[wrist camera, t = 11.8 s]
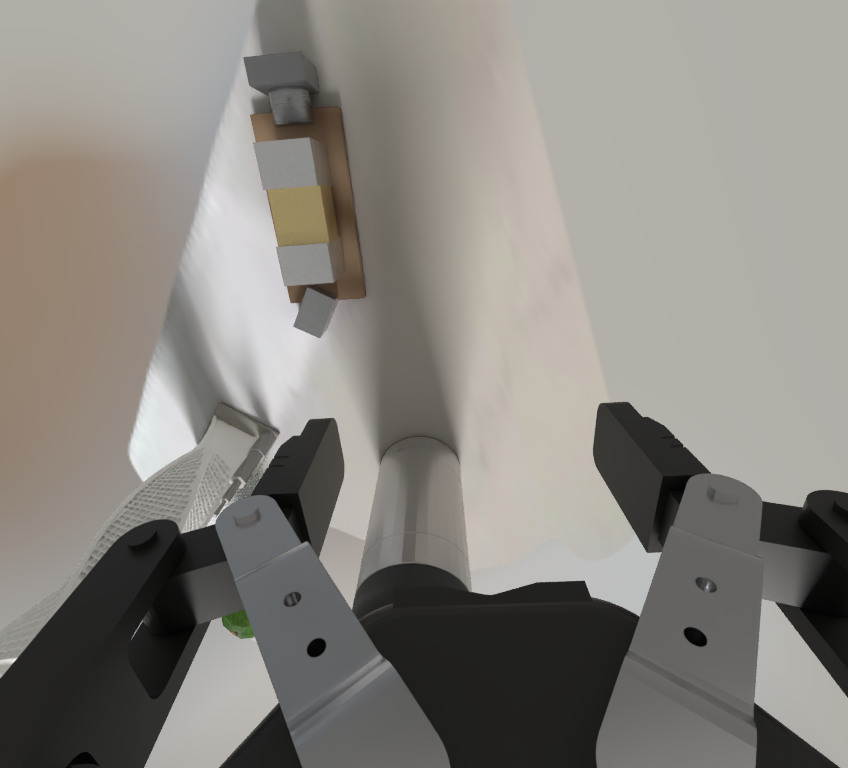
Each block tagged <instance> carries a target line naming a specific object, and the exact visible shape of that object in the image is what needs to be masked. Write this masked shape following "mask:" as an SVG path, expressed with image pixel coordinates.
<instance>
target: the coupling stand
mask: <svg viewBox="0 0 848 768" xmlns="http://www.w3.org/2000/svg"><path fill="white" fill-rule="evenodd" d="M243 58H244V62H245V67H246V72H247V77H248V81H249V86H251V87H253V88H255V89H256V90H258V91H260V92H261V93H263V94H265V95H267V96H268V97H269V99H270V105H271V110H272V113H263V114H253V115H250V117H251V121H252V126H253V130H254V135H255V140H256V142H265V141H276V140H287V139H298V138H308V137H310V138H312V139H314V140H316V141H319V142H321V143H323V144H326V146H327V152H328V159H329V165H330V172H331V178H332V185H333V186H331V190H332V197H333V203H334V210H335V216H336V223H337V229H338V235H339V237H341V243H342V250H343V256H344V263H345V269H346V272H345V273H344V274H343V275H342V276H340V277H339V278H338V279H337V280H336V281H335V282H334V283H321V284H308V285H294V286H287V288H288V293H289V298H290V302H291V303H300V302H302V304H301V307H300V309H299V312H298V315H297V318H296V321H295V323H294V326H293V327H296V328H298V329H300V330H302V331H305V332H307V333H309V334H311V335H314V336H316V337H318V338H321V336H322V335H323V334H324V333H325V331H326V330H327V328H328V325H329V322H330V320H331V317H332V315H333V312H334V310H335V307H336V305H337V302H338V300H341V299H355V298H365V296H366V291H365V284H364V276H363V269H362V262H361V254H360V247H359V240H358V233H357V225H356V218H355V211H354V203H353V196H352V189H351V181H350V174H349V167H348V159H347V152H346V145H345V137H344V130H343V123H342V115H341V109H340V108H339V107H338V106H336V107H325V108H315V109H312V108H311V101H310V95H309V93H319V87H318V80H317V74H316V67H315V66H314V65H313V64H312V63H311V62H310V61H309V60H308V59H307V58H306V57H305V56H304V55H303V54H302V53H301V52H291V53H281V54H271V55H262V56H252V57H243ZM266 191H267V190H266ZM267 195H268V192H267ZM268 200H269V197H268ZM269 205H270V201H269ZM270 209H271V206H270ZM271 214H272V211H271ZM272 219H273V215H272ZM273 223H274V220H273ZM274 228H275V225H274ZM275 233H276V229H275ZM276 237H277V234H276ZM277 242H278V239H277ZM278 246H279V243H278Z"/></svg>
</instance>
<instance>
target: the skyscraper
mask: <svg viewBox="0 0 848 768" xmlns="http://www.w3.org/2000/svg"><path fill="white" fill-rule="evenodd" d="M278 435H279V432H277V431H275V430H273V429H271V428H269V427H267V426H265V425H263V424H261V423H260V422H258V421H256V420H254V419H252V418H250V417H248V416H246V415H244V414H242V413H240V412H238V411H236V410H234V409H232V408H230V407H228V406H227V405H225V404H223V403H219V405H218V407H217V409H216V411H215V413H214V415H213V417H212V419H211V421H210V423H209V425H208V427H207V429H206V432H205V434H204V436H203V438H202V440H201V441H200V443H199V444H198V445H197V446H196V447H195V448H194V449H193V450H192V451H190V452H188V453H186V454H185V455H183V456H181V457H179V458H178V459H176V460H174V461H173V462H171V463H170V464H168V465H166V466H165V467H163V468H162V469H161V470H159V471H158V472H156V473H155V474H153V475H152V476H151V477H150V478H148V479H147V480H146V481H145V482H143V483H142V484H141V485H140V486H139V487H138V488H136V490H134V491H133V492H132V493H131V494H130V495H129V496H128V497H127V498H126V499H125V500H124V501H123V502H122V503H121V504H120V505H119V507H118V508H117V509H116V510H115V511H114V512H113V513H112V514H111V516H110V517H109V518H108V520H107V521H106V522H105V524H104V525H103V526H102V527H101V529H100V530H99V532H98V533H97V535H96V536H95V538H94V539H93V541H92V542H91V544H90V545H89V547H88V549H87V550H86V552H85V554H84V555H83V557H82V559H81V560H80V562H79V564H78V565H77V568H76V569H75V571H74V573H73V574H72V575H71V577H70V578H69V579H68V580H67V581H66V582H65V583H64V584H63V585H62V586H61V587H60V588H59V589H58V590H56V591H55V592H54V593H52V594H51V595H49V596H48V597H47V598H45V599H44V600H43V601H41V602H40V603H39V604H37V605H35V606H34V607H33V608H31V609H30V610H29V611H27V612H26V613H24V614H23V615H22V616H20V617H19V618H18V619H16V620H15V621H13V622H12V623H11V624H9V625H8V626H6V627H5V628H4V629H2V630H1V631H0V678H1V677H2V676H3V675H4V673H5V672H6V671H7V670H8V669H9V667H10V666H11V665H12V664H13V663H14V661H15V660H16V659H17V658H18V657H19V655H20V654H21V653H22V652H23V651H24V650H25V648H26V647H27V646H28V645H29V644H30V642H31V641H32V640H33V639H34V638H35V636H36V635H37V634H38V633H39V632H40V630H41V629H42V628H43V627H44V626H45V624H46V623H47V622H48V621H49V620H50V619H51V617H52V616H53V615H54V614H55V613H56V611H57V610H58V609H59V608H60V607H61V605H62V604H63V603H64V602H65V601H66V599H67V598H68V597H69V596H70V595H71V593H72V592H73V591H74V590H75V589H76V587H77V586H78V585H79V584H80V583H81V582H82V580H83V579H84V578H85V577H86V576H87V574H88V573H89V572H90V571H91V570H92V568H93V567H94V566H95V565H96V564H97V562H98V561H99V560H100V559H101V558H102V556H103V555H104V554H105V553H106V552H107V551H108V549H109V548H110V547H111V546H112V545H113V543H114V542H115V541H116V540H117V539H118V538H120V537H121V536H122V535H123V534H125V533H126V532H128V531H129V530H131V529H133V528H135V527H137V526H139V525H141V524H144V523H146V522H149V521H153V520H159V519H168V520H172V521H174V522H176V524H177V525H178V527H179V530H180V532H181V534H182V533H185V532H189V531H193V530H197V529H200V528H204V527H206V526H207V525H208V523H209V521H210V520H211V518H212V517H217V515H218V514H219V512H220V511H221V509H222V508H223V506H224V505H228V503H229V502H230V500H231V499H232V497H233V496H234V494H235V492H236V491H237V489H243V487H244V485H245V484H246V482H247V481H248V479H249V477H250V476H252V477H255V475H256V473H257V472H258V470H259V468H260V466H261V465H262V463H263V461H264V459H265V458H266V456H267V454H268V453H269V451H270V449H271V447H272V446H273V444H274V442H275V440H276V439H277V437H278Z"/></svg>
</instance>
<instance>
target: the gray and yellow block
mask: <svg viewBox="0 0 848 768" xmlns="http://www.w3.org/2000/svg"><path fill="white" fill-rule="evenodd" d="M253 144H254V148H255V153H256V158H257V162H258V167H259V171H260V176H261V181H262V185H263V190H267V192H268V197H269V201H270V206H271V211H272V215H273V220H274V225H275V229H276V234H277V239H278V243H279V246H278V247H276V249H277V254H278V259H279V263H280V268H281V272H282V277H283V282H284V286H294V285H308V284H321V283H334V282H335V281H336V280H337V279H338V278H339V277H340V276H342V275H343V274H344V273H345V272H346V269H345V263H344V256H343V250H342V243H341V237H339V235H338V229H337V223H336V216H335V210H334V203H333V197H332V190H331V186H333V185H332V178H331V172H330V165H329V159H328V152H327V146H326V144H323V143H321V142H319V141H316V140H314V139H312V138H310V137H308V138H298V139H287V140H276V141H265V142H255V143H253Z"/></svg>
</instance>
